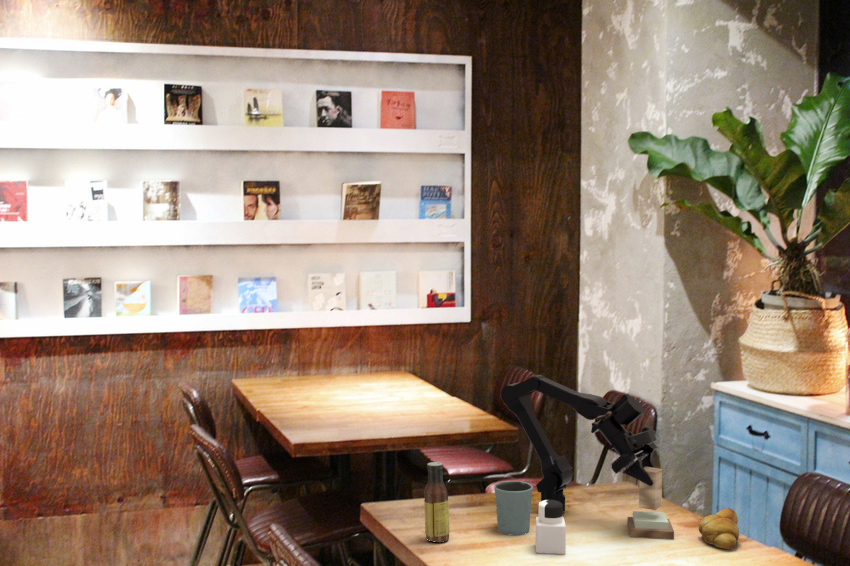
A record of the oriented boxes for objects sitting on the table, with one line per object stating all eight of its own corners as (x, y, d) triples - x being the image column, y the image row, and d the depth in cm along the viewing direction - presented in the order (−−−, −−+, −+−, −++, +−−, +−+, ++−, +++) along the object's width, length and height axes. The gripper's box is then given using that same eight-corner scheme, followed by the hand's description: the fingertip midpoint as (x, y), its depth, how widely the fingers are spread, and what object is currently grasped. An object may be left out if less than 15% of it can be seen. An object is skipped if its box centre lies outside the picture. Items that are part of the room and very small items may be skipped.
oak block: (638, 507, 232) (639, 469, 231) (645, 503, 235) (646, 466, 235) (655, 510, 229) (655, 472, 228) (661, 506, 233) (662, 469, 232)
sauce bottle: (452, 537, 227) (452, 461, 226) (445, 545, 221) (445, 467, 220) (428, 534, 229) (428, 459, 228) (420, 542, 223) (420, 465, 222)
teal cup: (537, 527, 236) (537, 483, 235) (525, 538, 226) (525, 492, 226) (501, 522, 240) (501, 478, 239) (488, 533, 231) (488, 488, 230)
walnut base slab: (630, 537, 228) (630, 529, 228) (627, 523, 239) (627, 516, 239) (673, 539, 226) (674, 531, 226) (668, 526, 237) (669, 518, 237)
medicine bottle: (563, 544, 222) (564, 498, 221) (565, 554, 215) (566, 506, 214) (535, 543, 223) (535, 497, 222) (536, 553, 215) (536, 505, 215)
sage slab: (635, 528, 229) (635, 520, 229) (632, 518, 237) (632, 510, 237) (668, 530, 227) (668, 522, 227) (664, 519, 236) (664, 512, 236)
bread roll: (742, 553, 217) (742, 521, 216) (701, 550, 219) (701, 518, 218) (735, 536, 229) (736, 506, 229) (697, 533, 231) (697, 503, 231)
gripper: (623, 423, 226) (663, 472, 220) (650, 412, 241) (689, 458, 235) (594, 449, 231) (633, 497, 225) (623, 436, 246) (660, 482, 240)
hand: (655, 483), depth 231 cm, fingers closed on oak block, 4 cm apart
